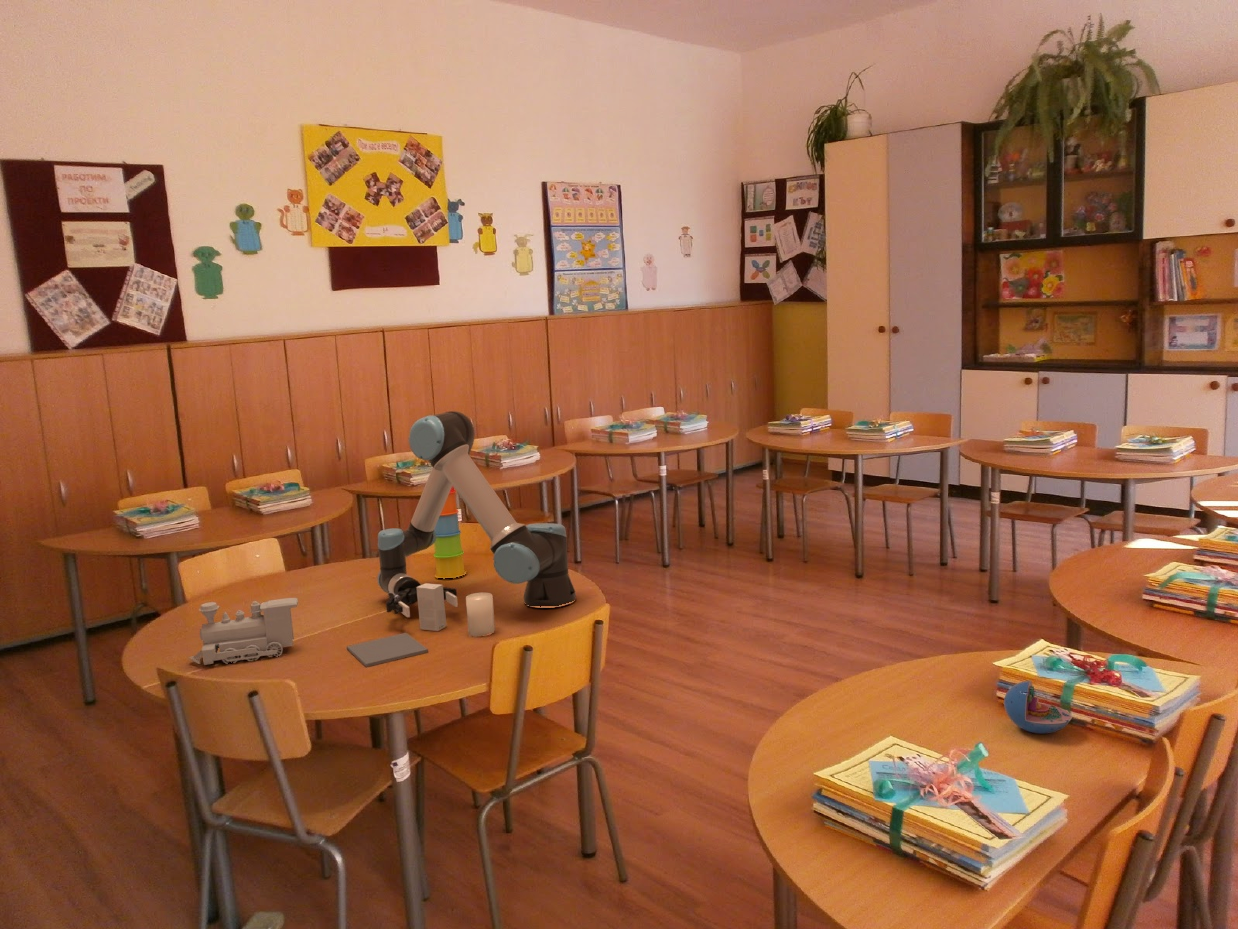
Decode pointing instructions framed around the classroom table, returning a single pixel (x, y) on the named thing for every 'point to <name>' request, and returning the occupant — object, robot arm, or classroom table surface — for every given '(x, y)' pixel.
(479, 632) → the white pillar candle
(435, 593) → the skincare box
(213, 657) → the toy train
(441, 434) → the robot arm
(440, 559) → the stacking cups
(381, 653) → the felt mat
